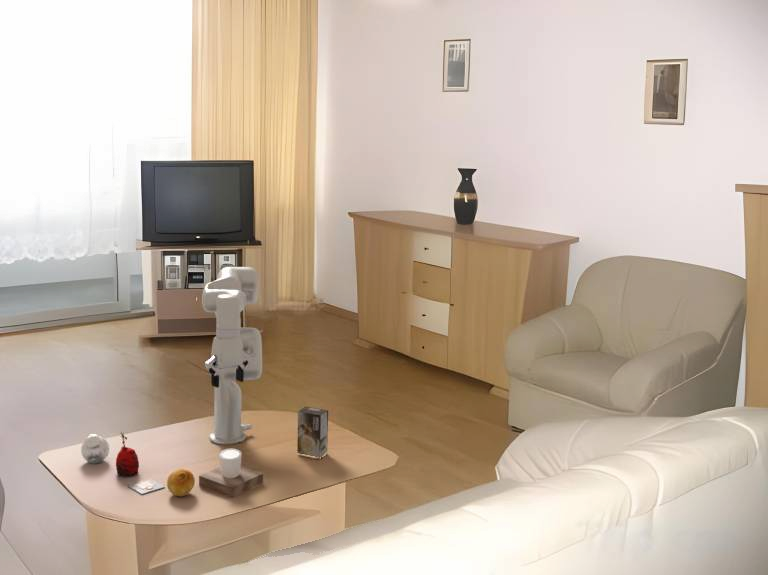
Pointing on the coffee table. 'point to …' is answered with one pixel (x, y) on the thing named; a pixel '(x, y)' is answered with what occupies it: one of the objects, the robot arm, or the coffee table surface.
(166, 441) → the coffee table surface
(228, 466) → the shot glass
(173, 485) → the fruit
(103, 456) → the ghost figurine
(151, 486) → the card
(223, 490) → the walnut block
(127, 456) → the red clay folk toy
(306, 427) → the coffee box
